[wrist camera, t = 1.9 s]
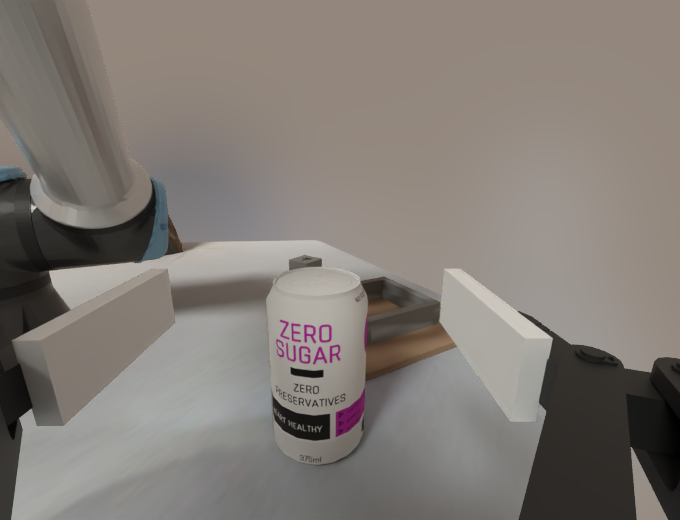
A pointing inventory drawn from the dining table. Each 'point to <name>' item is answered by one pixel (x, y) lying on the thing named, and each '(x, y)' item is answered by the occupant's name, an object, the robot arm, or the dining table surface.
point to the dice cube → (304, 262)
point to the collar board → (400, 327)
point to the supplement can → (317, 362)
